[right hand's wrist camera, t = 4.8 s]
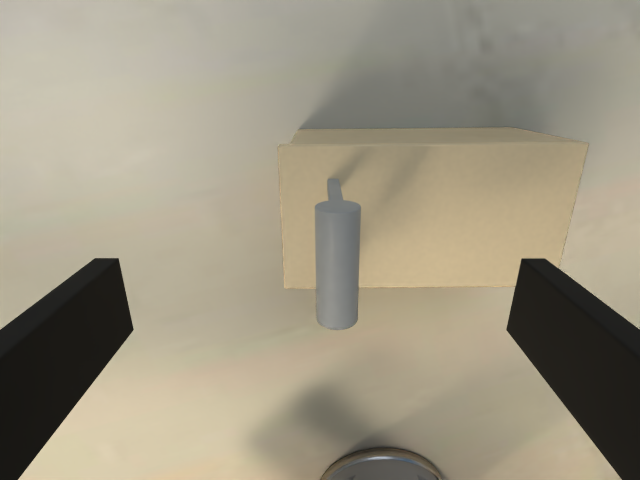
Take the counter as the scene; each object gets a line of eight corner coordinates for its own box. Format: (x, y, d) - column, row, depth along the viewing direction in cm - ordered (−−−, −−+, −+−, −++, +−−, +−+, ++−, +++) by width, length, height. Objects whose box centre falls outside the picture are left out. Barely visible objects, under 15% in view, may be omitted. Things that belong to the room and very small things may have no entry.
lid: (285, 283, 26) (271, 361, 19) (278, 144, 23) (258, 171, 15) (548, 280, 26) (639, 358, 19) (580, 141, 23) (709, 167, 15)
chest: (300, 236, 35) (294, 282, 26) (297, 129, 31) (289, 143, 23) (493, 235, 35) (547, 280, 26) (511, 127, 31) (580, 141, 23)
